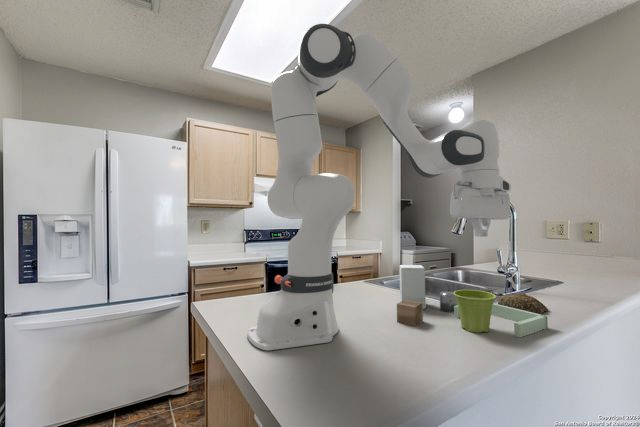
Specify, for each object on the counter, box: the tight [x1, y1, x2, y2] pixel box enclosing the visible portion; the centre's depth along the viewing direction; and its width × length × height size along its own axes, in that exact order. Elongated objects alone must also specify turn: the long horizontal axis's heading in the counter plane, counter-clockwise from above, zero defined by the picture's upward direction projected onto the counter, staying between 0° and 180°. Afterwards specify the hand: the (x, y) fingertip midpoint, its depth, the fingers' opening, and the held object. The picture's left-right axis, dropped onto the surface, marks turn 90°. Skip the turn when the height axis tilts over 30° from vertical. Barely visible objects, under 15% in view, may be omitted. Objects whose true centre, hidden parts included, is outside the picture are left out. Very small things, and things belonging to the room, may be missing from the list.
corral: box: [453, 303, 549, 338], centre depth 78 cm, size 12×17×3 cm
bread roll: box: [497, 292, 549, 315], centre depth 91 cm, size 13×12×5 cm
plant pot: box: [453, 289, 497, 334], centre depth 74 cm, size 9×9×9 cm
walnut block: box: [396, 300, 424, 327], centre depth 80 cm, size 5×5×5 cm
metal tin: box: [439, 290, 458, 313], centre depth 90 cm, size 5×5×5 cm
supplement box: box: [398, 264, 427, 310], centre depth 95 cm, size 7×7×13 cm
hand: (481, 236), depth 77 cm, fingers closed
